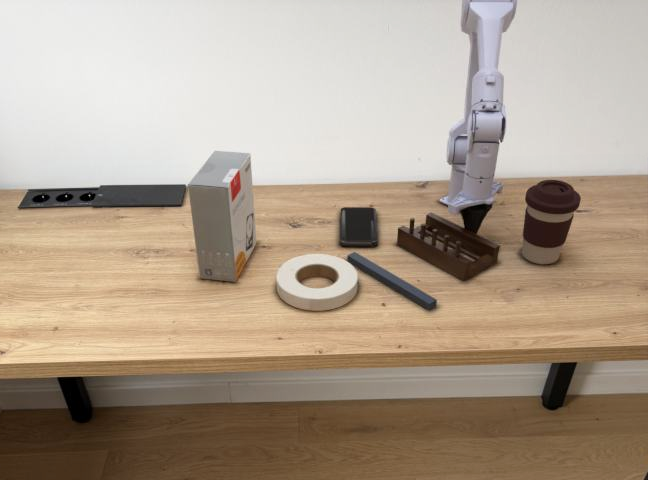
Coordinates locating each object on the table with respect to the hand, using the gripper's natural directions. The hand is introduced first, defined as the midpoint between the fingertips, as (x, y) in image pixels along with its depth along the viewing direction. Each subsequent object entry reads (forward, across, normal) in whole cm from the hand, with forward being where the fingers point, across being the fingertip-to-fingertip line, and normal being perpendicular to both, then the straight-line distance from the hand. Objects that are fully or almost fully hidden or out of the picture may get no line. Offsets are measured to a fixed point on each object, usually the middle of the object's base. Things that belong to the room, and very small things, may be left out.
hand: (470, 234), depth 141 cm
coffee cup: (+2, +6, -13) cm, 14 cm away
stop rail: (+2, -23, 0) cm, 23 cm away
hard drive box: (+2, -42, +27) cm, 50 cm away
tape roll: (+2, -35, +8) cm, 36 cm away
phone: (+2, -14, +19) cm, 24 cm away
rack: (+2, -7, 0) cm, 7 cm away
